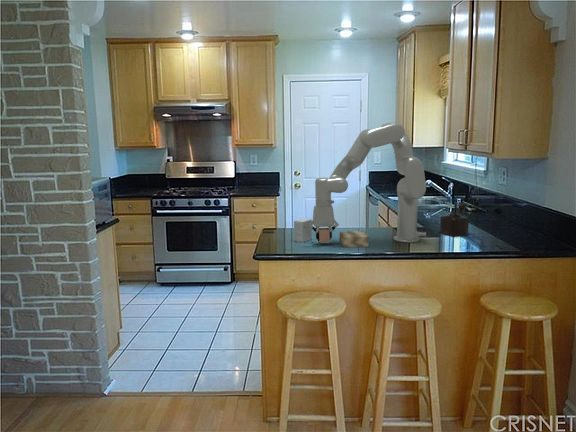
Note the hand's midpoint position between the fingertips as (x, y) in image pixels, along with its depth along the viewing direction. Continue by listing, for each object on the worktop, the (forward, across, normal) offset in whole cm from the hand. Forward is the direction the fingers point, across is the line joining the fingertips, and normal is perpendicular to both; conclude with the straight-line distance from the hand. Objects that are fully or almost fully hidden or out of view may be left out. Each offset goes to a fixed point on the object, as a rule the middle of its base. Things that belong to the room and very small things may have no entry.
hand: (323, 239), depth 226 cm
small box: (+3, +10, -10) cm, 14 cm away
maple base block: (+3, -14, +1) cm, 15 cm away
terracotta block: (+1, 0, 0) cm, 1 cm away
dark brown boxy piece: (+4, -72, -11) cm, 72 cm away
